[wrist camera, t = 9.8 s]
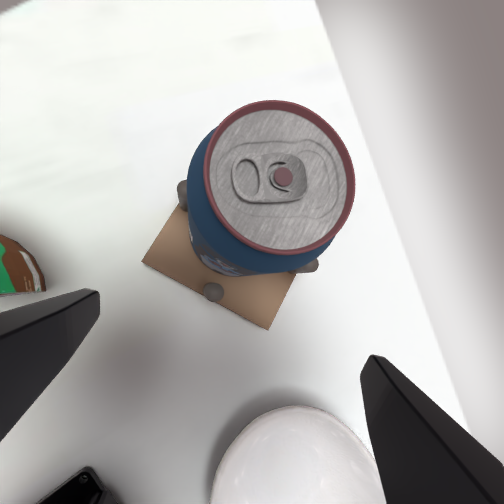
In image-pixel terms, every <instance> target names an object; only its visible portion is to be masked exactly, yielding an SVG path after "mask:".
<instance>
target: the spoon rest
mask: <svg viewBox="0 0 504 504" xmlns="http://www.w3.org/2000/svg"><path fill="white" fill-rule="evenodd" d="M209 504H386V500H385V496H384V492H383V488H382V484H381V480H380V476H379V472H378V468H377V464H376V461H375V460H374V458H373V457H372V455H371V454H370V452H369V451H368V450H367V448H366V447H365V446H364V444H363V443H362V442H361V441H360V439H359V438H358V437H357V436H356V435H355V434H354V433H353V432H352V431H351V430H350V429H349V428H348V427H347V426H346V425H345V424H344V423H343V422H341V421H340V420H339V419H337V418H336V417H335V416H333V415H331V414H329V413H328V412H325V411H323V410H320V409H317V408H314V407H308V406H286V407H281V408H277V409H274V410H271V411H268V412H266V413H264V414H262V415H261V416H259V417H257V418H256V419H254V420H253V421H252V422H251V423H249V424H248V425H247V426H246V427H245V428H244V429H243V430H242V431H241V432H240V433H239V435H238V436H237V437H236V438H235V439H234V441H233V442H232V443H231V445H230V446H229V448H228V449H227V451H226V452H225V454H224V456H223V458H222V460H221V462H220V464H219V466H218V469H217V472H216V474H215V477H214V481H213V485H212V489H211V495H210V502H209Z"/></svg>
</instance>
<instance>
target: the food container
mask: <svg viewBox="0 0 504 504" xmlns="http://www.w3.org/2000/svg"><path fill="white" fill-rule="evenodd" d="M43 291H46V287H45V282H44V276H43V274H42V272H41V270H40V268H39V266H38V264H37V262H36V261H35V259H34V257H33V256H32V255H31V254H30V253H29V252H28V251H27V250H25V249H24V248H23V247H22V246H21V245H20V244H19V243H18V242H16V241H14V240H12V239H9V238H7V237H5V236H3V235H0V297H3V296H11V295H19V294H27V293H35V292H43Z"/></svg>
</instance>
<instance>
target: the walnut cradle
mask: <svg viewBox="0 0 504 504" xmlns="http://www.w3.org/2000/svg"><path fill="white" fill-rule="evenodd" d="M177 192H178V198H179V204H178V205H177V207H176V208H175V210H174V211H173V213H172V214H171V216H170V218H169V219H168V221H167V222H166V224H165V225H164V227H163V228H162V230H161V232H160V233H159V235H158V236H157V238H156V239H155V241H154V242H153V244H152V246H151V247H150V249H149V250H148V252H147V253H146V255H145V256H144V258H143V260H142V261H141V262H143V263H145V264H146V265H148V266H150V267H152V268H154V269H156V270H157V271H159V272H161V273H163V274H165V275H167V276H169V277H170V278H172V279H174V280H176V281H178V282H180V283H181V284H183V285H185V286H187V287H189V288H191V289H192V290H194V291H196V292H198V293H200V294H202V295H203V296H205V297H206V298H207V299H208V300H209V301H212V302H216V303H218V304H220V305H222V306H224V307H225V308H227V309H229V310H231V311H233V312H235V313H237V314H238V315H240V316H242V317H244V318H246V319H248V320H249V321H251V322H253V323H255V324H257V325H259V326H260V327H262V328H264V329H266V330H269V328H270V326H271V324H272V322H273V320H274V318H275V316H276V314H277V312H278V310H279V308H280V306H281V304H282V302H283V300H284V298H285V296H286V294H287V292H288V290H289V288H290V286H291V284H292V282H293V280H294V278H295V276H296V274H297V273H309V272H314V271H316V270H317V268H318V265H319V263H318V260H317V258H316V259H314V260H313V261H311V262H310V263H308V264H306V265H304V266H302V267H300V268H298V269H295V270H291V271H287V272H281V273H271V274H261V275H251V276H241V277H232V276H226V275H222V274H219V273H217V272H215V271H213V270H211V269H210V268H208V267H207V266H206V265H205V264H204V263H203V262H202V261H201V260H200V259H199V258H198V256H197V255H196V253H195V252H194V250H193V247H192V245H191V241H190V237H189V224H188V206H187V180H183V181H181V182H180V183H179V184H178V186H177Z"/></svg>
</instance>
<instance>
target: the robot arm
mask: <svg viewBox="0 0 504 504" xmlns="http://www.w3.org/2000/svg"><path fill="white" fill-rule="evenodd" d="M99 315H100V294H99V292H98V291H96V290H92V289H87V288H84V289H81V290H77V291H74V292H70V293H67V294H63V295H60V296H57V297H53V298H50V299H46V300H43V301H39V302H36V303H32V304H29V305H25V306H22V307H18V308H15V309H12V310H8V311H5V312H1V313H0V442H1V441H2V439H3V438H4V437H5V436H6V435H7V433H8V432H9V431H10V430H11V429H12V428H13V426H14V425H15V424H16V423H17V422H18V420H19V419H20V418H21V417H22V416H23V414H24V413H25V412H26V411H27V410H28V409H29V407H30V406H31V405H32V404H33V403H34V401H35V400H36V399H37V398H38V397H39V396H40V394H41V393H42V392H43V391H44V390H45V388H46V387H47V386H48V385H49V384H50V382H51V381H52V380H53V379H54V378H55V377H56V375H57V374H58V373H59V372H60V371H61V369H62V368H63V367H64V366H65V365H66V363H67V362H68V361H69V360H70V358H71V357H72V356H73V354H74V353H75V351H76V350H77V348H78V347H79V346H80V344H81V343H82V341H83V340H84V338H85V337H86V335H87V334H88V332H89V331H90V330H91V328H92V327H93V325H94V324H95V322H96V321H97V319H98V317H99ZM360 382H361V389H362V395H363V402H364V409H365V415H366V422H367V427H368V432H369V436H370V440H371V444H372V448H373V452H374V456H375V460H376V464H377V468H378V472H379V476H380V480H381V484H382V488H383V492H384V496H385V500H386V504H504V466H503V464H502V463H501V462H500V461H499V460H498V459H497V458H496V457H494V456H493V455H492V454H491V453H490V452H489V451H487V449H486V448H484V447H483V446H482V445H481V444H480V443H479V442H478V441H477V440H476V439H475V438H473V437H472V436H471V435H470V434H469V433H468V432H467V431H466V430H465V429H463V428H462V427H461V426H460V425H459V424H458V423H457V422H456V421H455V420H453V419H452V418H451V417H450V416H449V415H448V414H447V413H446V412H445V411H444V410H442V409H441V408H440V407H439V406H438V405H437V404H436V403H435V402H434V401H432V400H431V399H430V398H429V397H428V396H427V395H426V394H425V393H424V392H423V391H421V390H420V389H419V388H418V387H417V386H416V385H415V384H414V383H413V382H411V381H410V380H409V379H408V378H407V377H406V376H405V375H404V374H403V373H402V372H400V371H399V370H398V369H397V368H396V367H395V366H394V365H393V364H392V363H390V362H389V361H388V360H387V359H386V358H385V357H382V356H378V355H370V356H369V358H368V360H367V362H366V363H365V365H364V367H363V369H362V371H361V374H360ZM83 475H85V476H87V479H83V478H82V476H83ZM36 504H118V503H117V501H116V500H115V498H114V497H113V495H112V494H111V492H110V491H109V490H106V489H105V488H104V486H103V485H102V483H101V482H100V480H99V479H98V477H97V476H96V474H95V473H94V471H93V470H92V469H91V468H88V467H87V468H83V469H81V470H80V471H79V472H77V473H76V474H75V475H73V476H72V477H71V478H69V479H68V480H67V481H65V482H64V483H63V484H61V485H60V486H59V487H58V488H56V489H55V490H54V491H52V492H51V493H50V494H48V495H47V496H46V497H44V498H43V499H42V500H40V501H39V502H38V503H36Z"/></svg>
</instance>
